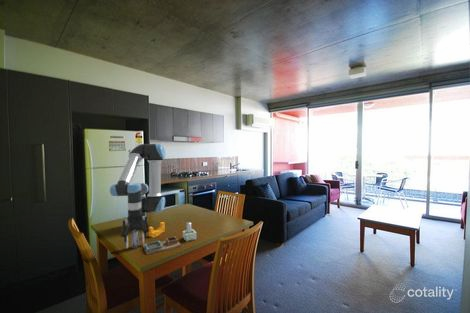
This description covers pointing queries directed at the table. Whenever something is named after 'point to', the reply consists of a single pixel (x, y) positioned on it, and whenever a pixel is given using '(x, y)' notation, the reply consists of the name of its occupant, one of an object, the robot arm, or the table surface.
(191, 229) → the pin
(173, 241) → the mount
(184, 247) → the table surface
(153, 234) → the pipe clamp
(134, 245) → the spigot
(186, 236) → the tray
